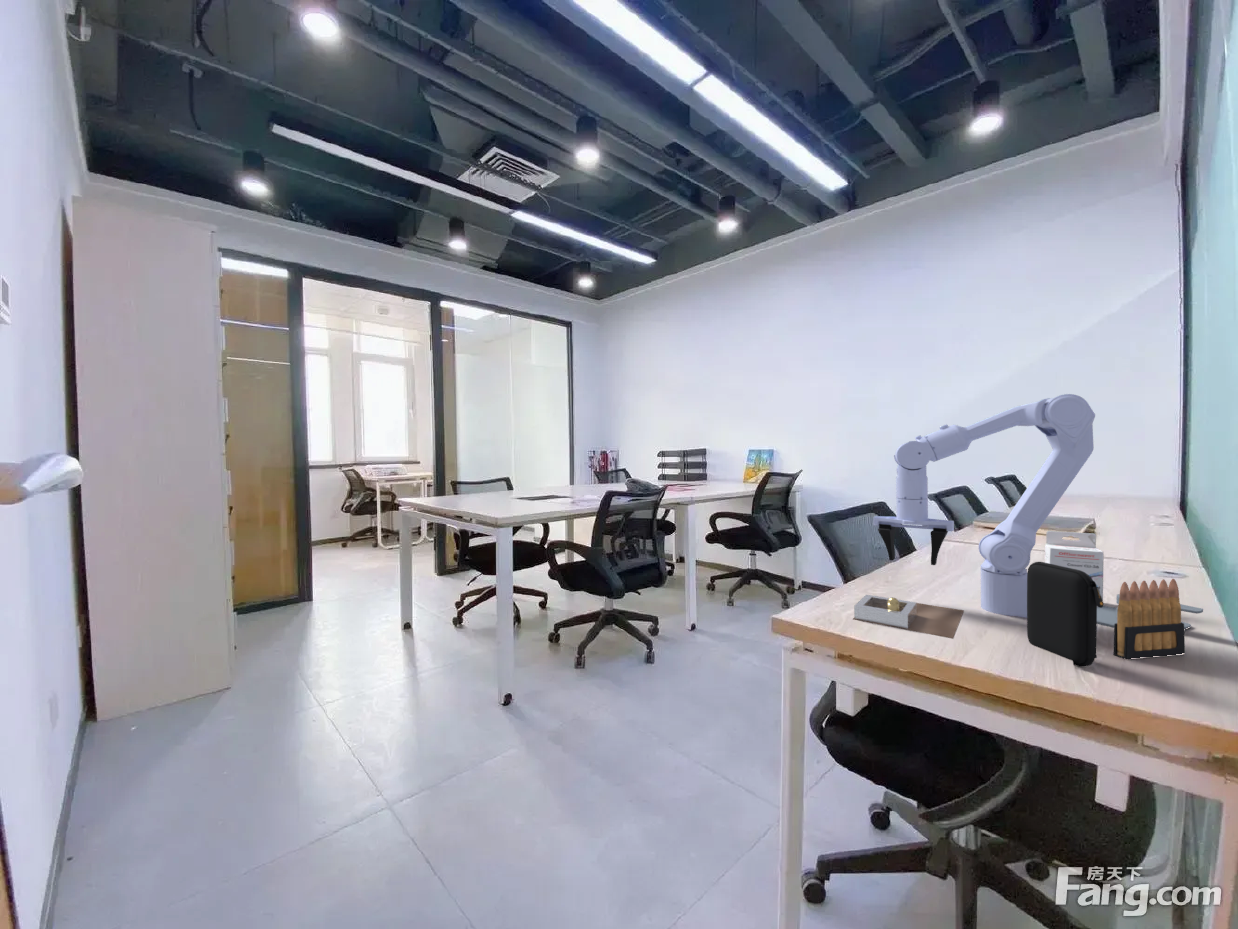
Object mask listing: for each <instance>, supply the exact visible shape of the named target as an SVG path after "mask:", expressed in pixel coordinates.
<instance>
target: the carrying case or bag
mask: <svg viewBox="0 0 1238 929" xmlns="http://www.w3.org/2000/svg"><path fill="white" fill-rule="evenodd" d="M1097 606H1098V607H1099V608H1102V607H1103V606H1105V605H1104V599H1103V600H1102V597H1101V594H1100V591H1099V587H1097V585H1096V583H1095V582H1094V581H1093V580H1092V578H1091V577H1090V576H1089V575H1088V574H1086V573H1085V572H1083V571H1081V570H1077V569H1072V568H1067V567H1063V566H1058V565H1054V564H1049V563H1045V561H1034V562H1032V563H1031V564H1029V565H1028V567H1027V618H1026V626H1027V627H1026V629H1027V630H1026V632H1027V634H1026V635H1027V640H1028V642H1029V644H1030V645H1032V646H1034V647H1037V648H1040V649H1042V650H1043V651H1047V652H1048V653H1049V652H1050V653H1052V654H1054V655H1057V656H1058V657H1059V656H1060V657H1062V658H1065V659H1067V660H1070V661H1072V663H1073V665H1074V666H1076V667H1081V668H1083V667H1085V668H1086V667H1089V666H1092V664H1093V663H1094V661H1095V659H1097V658H1098V656H1097V639H1098V638H1097V635H1098V633H1097V631H1098V626H1097V625H1098V624H1097Z"/></svg>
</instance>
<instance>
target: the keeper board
mask: <svg viewBox="0 0 1238 929" xmlns="http://www.w3.org/2000/svg"><path fill="white" fill-rule="evenodd" d="M916 603H917V616H916V617H915V619H914V620H913V622H912V623H911V625H910V626H909V628H908V629H906V628H901V627H896V626H891V625H885V624H880V623H875V622H870V621H864V620H859V619H854V617H853V618H852V620H854V621H859V622H860V621H861V622H864V623H870V624H874V625H879V626H885V627H890V628H896V629H900V630H905V631H910V632H911V631H912V632H916V633H922V634H926V635H933V636H938V637H943V638H947V639H948V638H949V639H954V638H955V635H956V632H957V629H958V626H959V624H960V621H961V619H962V616H963V614H964V612H965V610H963V609H956V608H951V607H944V606H939V605H933V604H928V603H927V604H926V603H920V602H916Z"/></svg>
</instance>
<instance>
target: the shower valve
mask: <svg viewBox="0 0 1238 929" xmlns="http://www.w3.org/2000/svg"><path fill="white" fill-rule="evenodd" d="M1119 595H1120V593H1118V594H1116V604H1117V605H1119ZM1180 605H1181V612H1183V613H1190V614H1202V613H1204V609H1203V608H1202V607H1196V606H1191V605H1186V604H1181V603H1180ZM1117 609H1118V606H1117V607H1111V606H1107V605H1103V607H1102V608H1099V607H1097V625H1100V626H1104V627H1108V628H1112V629H1114V624H1115V623H1117ZM1181 623H1184V629H1186V628H1188V627H1190V626H1191V627H1192V624H1191V623H1189V622H1185V621H1181Z"/></svg>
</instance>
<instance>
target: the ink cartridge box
mask: <svg viewBox="0 0 1238 929" xmlns="http://www.w3.org/2000/svg"><path fill="white" fill-rule="evenodd" d="M1045 537H1046V538H1045V540H1046V543H1045V544H1044V562H1045V563H1049V564H1054V565H1058V566H1063V567H1067V568H1072V569H1077V570H1081V571H1083V572H1085V573H1086V574H1088V575H1089V576H1090V577H1091V578H1092V580H1093V581H1094V582H1095V583H1096V585H1097V587H1099V591H1100V594H1101V597H1102V600H1103V601H1104V559H1105V558H1104V556H1105V555H1104V551H1103V550H1101V549H1100V548H1098V547H1097V546H1096V545H1097V534H1096V533H1093V532H1091V533H1089V532H1076V531H1075V532H1074V531H1057V530H1056V531H1055V530H1054V531H1053V530H1047V531H1046V536H1045ZM1069 537H1073V538H1074V540H1072V539H1063V538H1069ZM1075 538H1078V539H1079V540H1075ZM1097 607H1098V606H1097Z"/></svg>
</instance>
